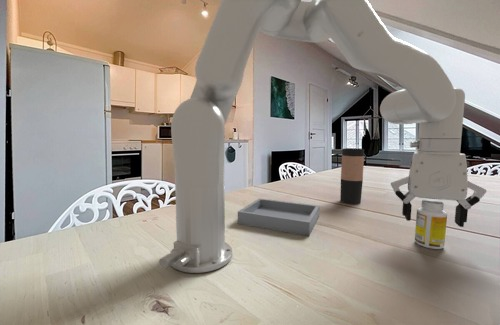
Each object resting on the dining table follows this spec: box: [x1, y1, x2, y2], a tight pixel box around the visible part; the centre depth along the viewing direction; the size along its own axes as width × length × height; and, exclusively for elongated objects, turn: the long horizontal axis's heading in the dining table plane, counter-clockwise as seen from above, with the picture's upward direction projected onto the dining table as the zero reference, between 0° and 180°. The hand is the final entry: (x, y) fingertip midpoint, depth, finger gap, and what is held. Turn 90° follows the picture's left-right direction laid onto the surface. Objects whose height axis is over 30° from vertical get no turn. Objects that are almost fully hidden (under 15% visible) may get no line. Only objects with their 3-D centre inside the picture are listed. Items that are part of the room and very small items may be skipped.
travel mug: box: [339, 147, 365, 205], centre depth 92 cm, size 8×8×20 cm
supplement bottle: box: [414, 198, 448, 250], centre depth 56 cm, size 6×6×10 cm
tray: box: [237, 198, 321, 237], centre depth 72 cm, size 16×20×4 cm
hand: (432, 221), depth 56 cm, fingers open, 9 cm apart
